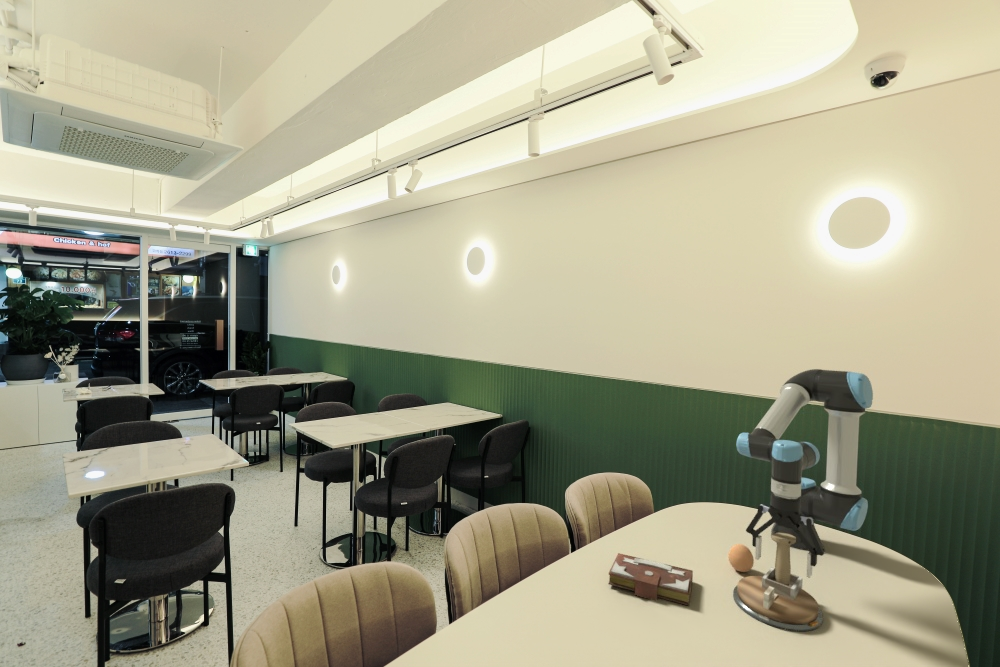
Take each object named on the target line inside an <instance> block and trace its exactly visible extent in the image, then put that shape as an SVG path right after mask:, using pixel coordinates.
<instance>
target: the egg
mask: <svg viewBox="0 0 1000 667" xmlns="http://www.w3.org/2000/svg"><path fill="white" fill-rule="evenodd" d="M728 561H729V564H730V566H732V568H733V569H734V570H736V571H737V572H740V573H746V572H749V571H750V570H751V569H753V567H754V563H755V562H754V555H753V552H751V550H750V549H749V547H747V545H744V544H742V543H739V544H734V545H733V546H732V547H731V548H730V549H729V552H728Z"/></svg>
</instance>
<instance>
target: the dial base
mask: <svg viewBox="0 0 1000 667" xmlns="http://www.w3.org/2000/svg"><path fill="white" fill-rule="evenodd" d="M732 593H733V596H732V597H733V601H734V603H735V604H736V605H737V607H738V608H739V609H740V610H742V611H743V612H744V613H745V614H746V615H748V616H750V617H751V618H753V619H755V620H757V621H759V622H760V623H763V624H765V625H767V626H770V627H773V628H776V629H780V630H785V631H789V632H790V631H791V632H799V633H800V632H801V633H802V632H805V633H806V632H811V631H815V630H818V629H819V628H820V627H821V626H822V625H823V617H824V616H823V615H824V614H823V613H822V611H821V609H820V608H819V609H818V618H817V619H816V620H815V621H814V622H812V623H808V624H789V623H784V622H779V621H776V620H773V619H770V618H768V617H765V616H763V615H761V614H758V613H756V612H755V611H753V610H751V609H750V608H748V607H747V606H746V605H745V604H744V603H743V602H742V601H741V600H740V599H739V597H738V594H737V585H736V586H735V587H734V589H733V592H732Z"/></svg>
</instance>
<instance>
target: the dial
mask: <svg viewBox="0 0 1000 667" xmlns="http://www.w3.org/2000/svg"><path fill="white" fill-rule="evenodd" d="M736 586H737V594H738V597H739V599H740V600H741V601H742V602H743V603H744V604H745V605H746V606H747V607H748V608H750V609H751V610H753V611H755V612H756V613H758V614H761V615H763V616H765V617H768V618H770V619H773V620H776V621H779V622H784V623H789V624H808V623H812V622H814V621H815V620H816V619H817V618H818V609H820V607H819V603H818V601H817V600H816V599H815V597H814V596H812V595H811V594H810V593H809V592H807V591H806V590H805V589H803V577H802V576H799V575H796V574H793V573H791V574H790V582H789V586H786V585H784V584H781V583H778V582H777V581H776V578H775V566H774V567H773V566H772V567H770V569H768V571H767V572H766V573H765V574H764V575H750V576H746V577H743V578H741V579H740V580H738V582H737V585H736Z"/></svg>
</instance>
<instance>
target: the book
mask: <svg viewBox="0 0 1000 667" xmlns="http://www.w3.org/2000/svg"><path fill="white" fill-rule="evenodd" d="M693 573H694V571H693V570H691V569H687V568H683V567H682V568H681V567H678V566H674V565H670V564H667V563H661V562H657V561H653V560H649V559H644V558H641V557H636V556H631V555H627V554H623V553H617V555H616V557H615V559H614V562H613V563H612V564H611V568H610V569H609V572H608V575H609V581H608V585H610V586H615V587H618V588H621V589H625V590H629V591H633V592H634V596H635V595H637V596H636V597H638V596H641V597H640V598H642V597H644V598H643V599H646V598H648V599H647V600H649V599H650V600H655V601H657V600H658V598H659V599H662V600H667V601H670V602H674V603H678V604H682V605H685V606H690V599H691V594H692V593H691V592H692V585H693V578H694V577H693Z"/></svg>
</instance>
